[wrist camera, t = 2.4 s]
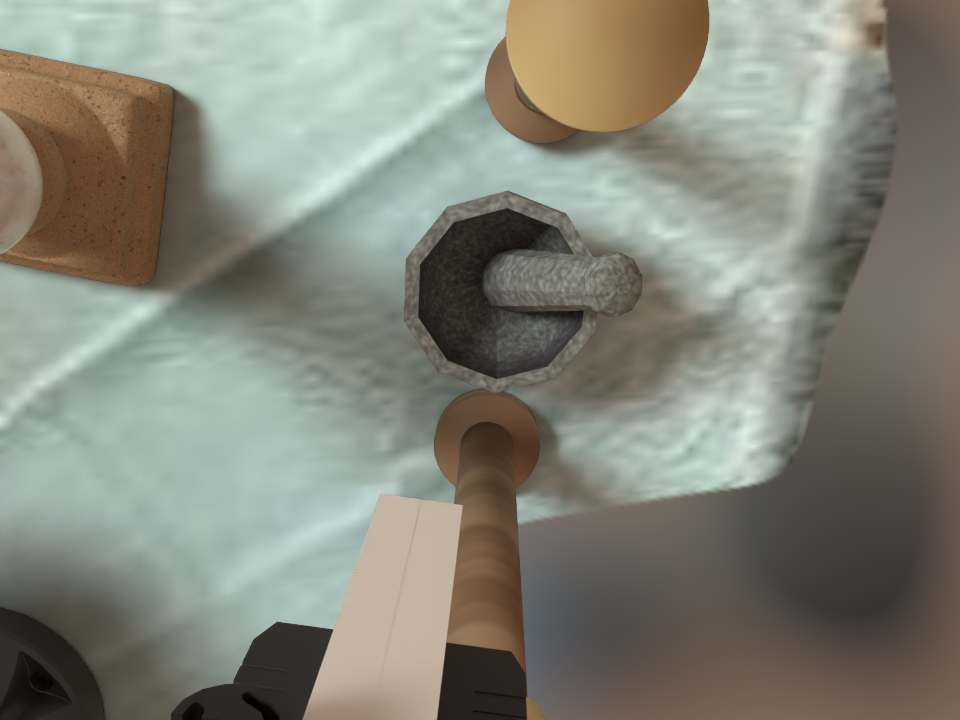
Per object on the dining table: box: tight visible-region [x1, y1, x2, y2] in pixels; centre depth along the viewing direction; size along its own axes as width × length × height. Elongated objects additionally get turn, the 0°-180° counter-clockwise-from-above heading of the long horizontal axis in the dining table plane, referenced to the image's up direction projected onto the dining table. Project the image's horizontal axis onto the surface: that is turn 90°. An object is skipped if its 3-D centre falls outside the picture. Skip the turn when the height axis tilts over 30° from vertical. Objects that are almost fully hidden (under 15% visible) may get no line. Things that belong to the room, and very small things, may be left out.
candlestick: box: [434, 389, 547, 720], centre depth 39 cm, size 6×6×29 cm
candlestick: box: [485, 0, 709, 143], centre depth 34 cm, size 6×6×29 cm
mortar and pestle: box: [404, 191, 642, 393], centre depth 44 cm, size 11×9×12 cm
